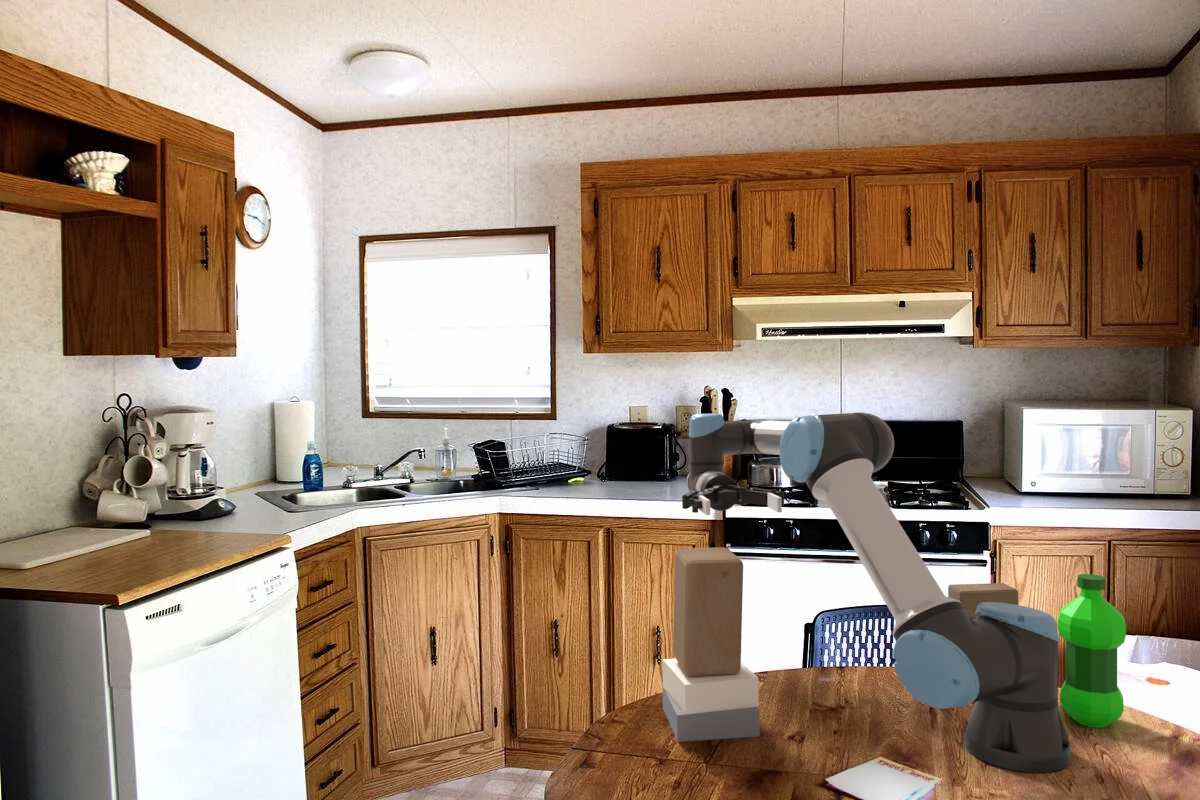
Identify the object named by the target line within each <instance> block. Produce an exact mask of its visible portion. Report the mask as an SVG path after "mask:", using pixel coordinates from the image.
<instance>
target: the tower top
mask: <svg viewBox="0 0 1200 800" xmlns="http://www.w3.org/2000/svg"><path fill="white" fill-rule="evenodd" d="M662 685H663V687H664V689H665V690H666V691H667V692H668V694H669V695H670V696H671V697H672V698H673V700H674V701H675V702H676V703H677V705H678V706H679V707H680V708H681V710H682V711H683V712H684V713H685V715H686V714H695V713H704V712H714V711H723V710H732V709H741V708H751V707H757V708H758V707H759V706H760V705H759V704H760V699H759V697H760V696H759V694H760V693H759V690H760V689H759V676H757V675H756V674H755V673H754V672H753V671H752V670H750V669H749V668H748V667H747V666H746V665H745V664H744V663H742V662H741V668H740V672H739V673H736V674H717V675H696V676H689V675H686V674H685V673H684V671H683V670H682V668H681V666H680V665H679V663H678V661H677V660H676V658H675V657H674V658H664V659H662Z"/></svg>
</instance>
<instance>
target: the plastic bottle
mask: <svg viewBox="0 0 1200 800" xmlns="http://www.w3.org/2000/svg"><path fill="white" fill-rule="evenodd" d="M1077 588H1080V595H1079V596H1077V597H1076V598H1074V599H1072V600H1070V601H1069V602H1068V603H1067V604H1065V605H1064V606H1062V607H1061V609H1060V611H1059V613H1058V617H1057V630H1058V635H1059V636H1060V637H1061V638H1062V639H1063V640H1064V642H1065V680H1064V682H1063V683H1062V685H1061V688H1060V691H1059V692H1060V693H1059V701H1060V704H1061V706H1062V708H1063V710H1064V711H1065V713H1066V714H1068V715H1069V716H1070V717H1072V718H1073V719H1074V721H1075V722H1077V723H1078V724H1080V725H1083V726H1087V727H1090V728H1098V729H1099V728H1105V727H1109V725H1111V724H1113V723H1115V722H1116V721H1118V720H1119V719H1120V718H1121V717H1122V715H1123V713H1124V709H1125V708H1124V706H1125V705H1124V697H1123V694H1122V692H1121V690H1120V688H1119V686H1118V648H1120V647H1121V646H1122V645H1123V644H1124V643H1125V640H1126V637H1127V636H1126V635H1127V623H1126V620H1125V617H1124V615H1123V614H1122V612H1120V611H1119V610H1118V609H1117V608H1116V607H1115V606H1114V605H1112V604H1111V603H1110V602H1108V600H1106V599H1105V597H1103V593H1102V592H1103V591H1105V590H1106V577H1105V576H1102V575H1099V574H1092V573H1081V574H1077Z"/></svg>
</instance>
